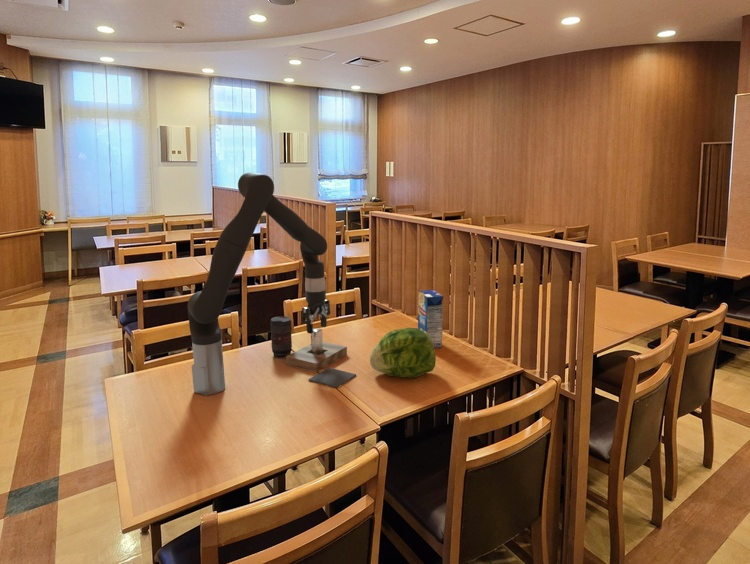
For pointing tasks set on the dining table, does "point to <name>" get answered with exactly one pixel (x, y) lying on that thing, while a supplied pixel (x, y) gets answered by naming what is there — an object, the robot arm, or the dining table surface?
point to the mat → (332, 377)
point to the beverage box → (431, 315)
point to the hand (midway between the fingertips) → (317, 329)
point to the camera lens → (281, 336)
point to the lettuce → (404, 353)
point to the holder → (316, 357)
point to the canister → (317, 342)
